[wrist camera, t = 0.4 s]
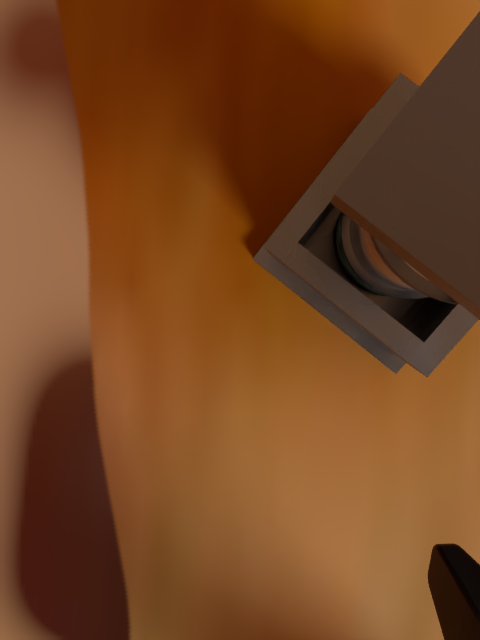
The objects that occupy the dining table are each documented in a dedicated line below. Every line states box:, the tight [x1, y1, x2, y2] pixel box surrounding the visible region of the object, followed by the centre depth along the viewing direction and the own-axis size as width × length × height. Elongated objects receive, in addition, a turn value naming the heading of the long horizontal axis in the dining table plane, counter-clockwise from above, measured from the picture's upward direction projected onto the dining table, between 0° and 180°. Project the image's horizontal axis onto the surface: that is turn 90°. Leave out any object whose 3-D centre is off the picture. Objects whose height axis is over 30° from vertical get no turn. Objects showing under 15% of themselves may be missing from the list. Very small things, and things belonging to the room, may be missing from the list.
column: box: [331, 12, 480, 320], centre depth 13 cm, size 4×4×12 cm
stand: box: [253, 73, 479, 377], centre depth 17 cm, size 8×8×6 cm
